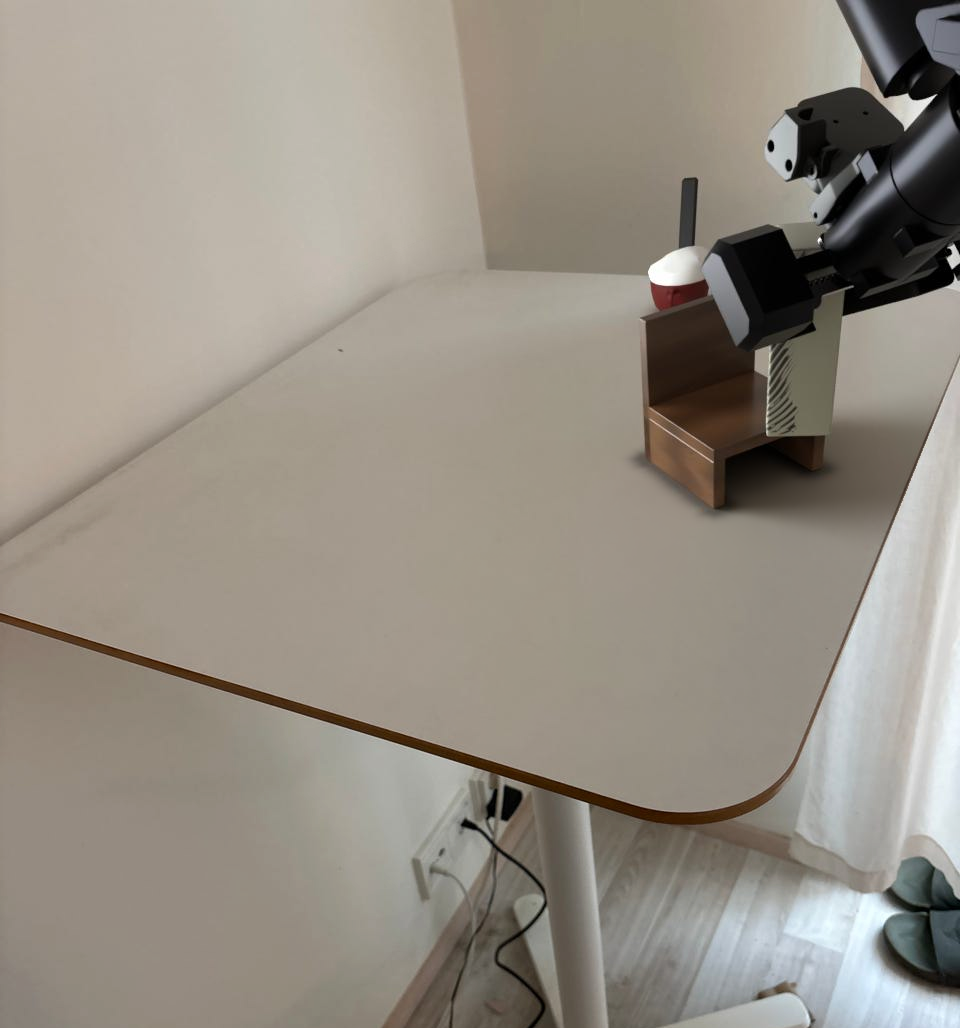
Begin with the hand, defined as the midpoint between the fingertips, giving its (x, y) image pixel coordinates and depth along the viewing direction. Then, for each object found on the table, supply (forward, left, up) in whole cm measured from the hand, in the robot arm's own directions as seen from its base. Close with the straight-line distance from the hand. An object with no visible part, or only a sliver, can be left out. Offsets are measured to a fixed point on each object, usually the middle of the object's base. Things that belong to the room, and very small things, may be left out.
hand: (791, 324), depth 64 cm
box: (-1, +1, -7) cm, 7 cm away
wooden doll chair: (+6, -3, -13) cm, 15 cm away
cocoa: (+26, -30, -14) cm, 42 cm away
